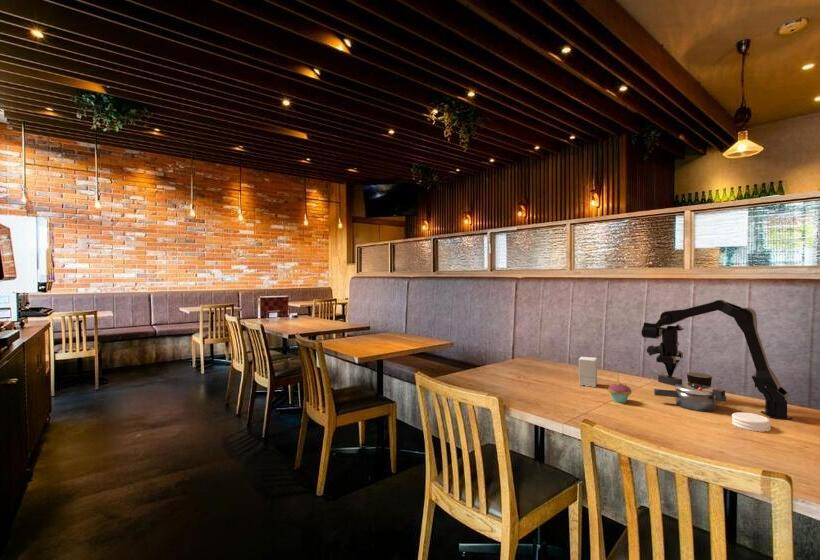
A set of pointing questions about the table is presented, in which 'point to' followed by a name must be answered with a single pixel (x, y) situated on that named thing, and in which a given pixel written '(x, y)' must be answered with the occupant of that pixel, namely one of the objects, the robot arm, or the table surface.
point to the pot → (692, 400)
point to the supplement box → (588, 371)
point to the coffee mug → (699, 378)
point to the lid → (690, 386)
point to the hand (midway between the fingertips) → (670, 376)
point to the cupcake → (619, 391)
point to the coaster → (751, 421)
